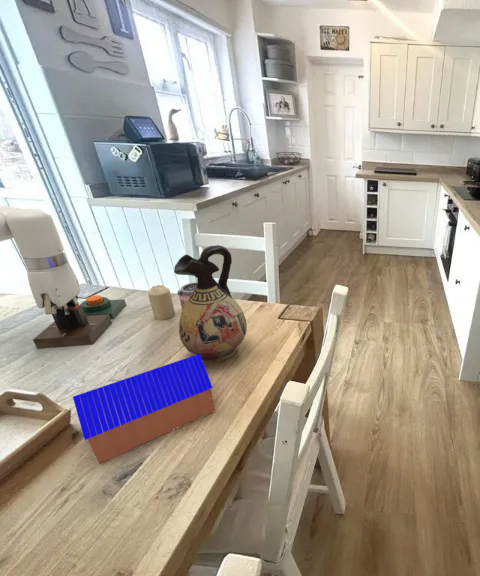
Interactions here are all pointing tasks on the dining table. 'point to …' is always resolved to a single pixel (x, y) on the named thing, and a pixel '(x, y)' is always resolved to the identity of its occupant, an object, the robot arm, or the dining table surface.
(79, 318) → the dark grey block
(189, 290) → the pink lidded cup
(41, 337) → the panel
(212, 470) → the dining table surface
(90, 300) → the button
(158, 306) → the candle
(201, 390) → the house
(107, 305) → the button box
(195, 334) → the ceramic jug
